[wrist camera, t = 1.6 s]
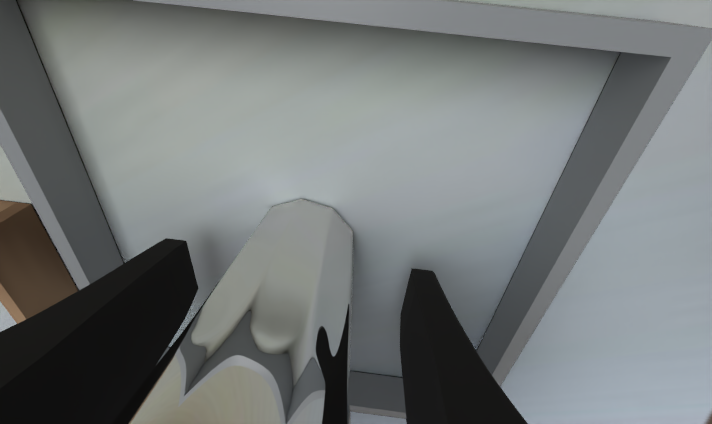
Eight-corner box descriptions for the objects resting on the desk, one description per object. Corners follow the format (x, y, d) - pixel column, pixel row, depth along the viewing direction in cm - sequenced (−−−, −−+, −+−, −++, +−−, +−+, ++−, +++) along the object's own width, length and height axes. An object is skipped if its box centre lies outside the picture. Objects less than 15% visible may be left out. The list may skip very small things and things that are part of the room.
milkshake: (257, 299, 13) (32, 825, 5) (225, 177, 10) (-472, 989, 2) (373, 305, 13) (341, 886, 5) (375, 181, 10) (296, 1198, 2)
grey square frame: (468, 392, 16) (474, 428, 14) (149, 351, 16) (129, 382, 15) (660, 21, 7) (718, 28, 6) (-26, -50, 7) (-109, -57, 6)
